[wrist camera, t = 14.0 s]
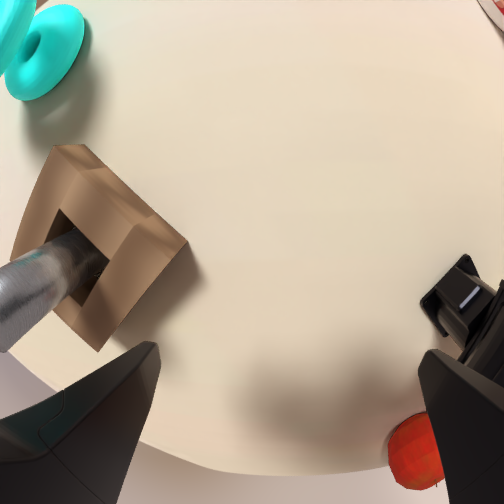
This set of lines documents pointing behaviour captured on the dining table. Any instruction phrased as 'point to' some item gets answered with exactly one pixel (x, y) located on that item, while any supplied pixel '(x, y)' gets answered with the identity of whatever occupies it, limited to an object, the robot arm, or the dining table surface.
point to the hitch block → (97, 237)
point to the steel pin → (44, 282)
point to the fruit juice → (494, 11)
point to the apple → (415, 454)
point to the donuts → (37, 35)
